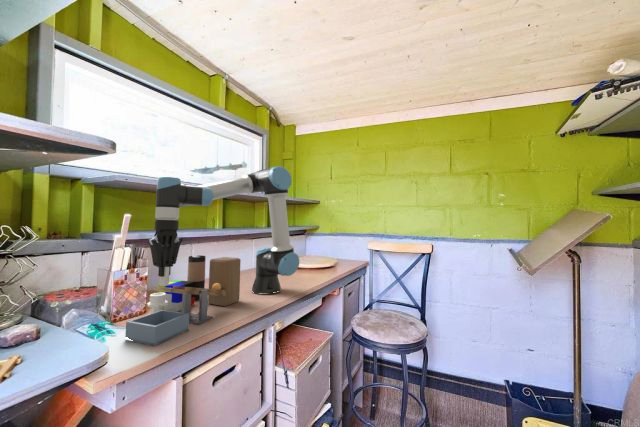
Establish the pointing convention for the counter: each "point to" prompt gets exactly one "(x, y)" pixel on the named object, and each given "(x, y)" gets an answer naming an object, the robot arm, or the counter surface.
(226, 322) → the counter surface
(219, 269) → the block
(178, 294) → the puzzle toy
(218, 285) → the ball
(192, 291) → the lever
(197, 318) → the stand
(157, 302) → the pipe fitting
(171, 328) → the tray
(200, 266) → the travel mug
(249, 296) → the counter surface
